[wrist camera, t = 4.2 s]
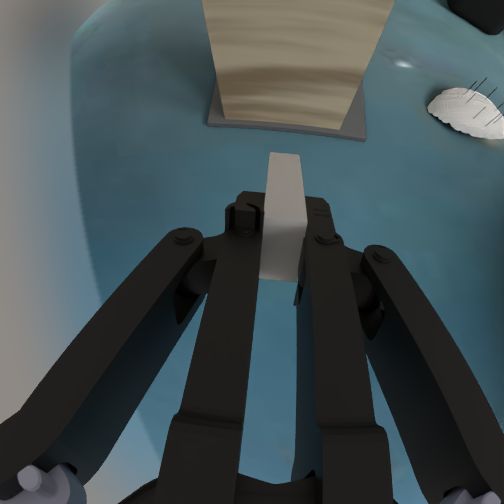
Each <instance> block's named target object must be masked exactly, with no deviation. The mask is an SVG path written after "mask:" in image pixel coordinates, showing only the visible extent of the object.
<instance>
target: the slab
mask: <svg viewBox="0 0 504 504" xmlns="http://www.w3.org/2000/svg"><path fill="white" fill-rule="evenodd" d="M394 3H395V0H202V4H203V9H204V14H205V20H206V25H207V30H208V35H209V40H210V45H211V50H212V55H213V60H214V65H215V70H216V76H217V81H218V86H219V91H220V96H221V101H222V106H223V111H224V116H225V119H237V120H253V121H267V122H278V123H288V124H298V125H307V126H315V127H323V128H330V129H337V130H339V129H340V127H341V125H342V123H343V121H344V118H345V116H346V114H347V112H348V109H349V107H350V105H351V103H352V100H353V98H354V96H355V94H356V91H357V89H358V87H359V85H360V82H361V80H362V78H363V76H364V73H365V71H366V69H367V66H368V64H369V62H370V59H371V57H372V55H373V52H374V50H375V48H376V45H377V43H378V41H379V38H380V36H381V34H382V31H383V29H384V27H385V24H386V22H387V19H388V17H389V15H390V12H391V10H392V7H393V5H394Z"/></svg>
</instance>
